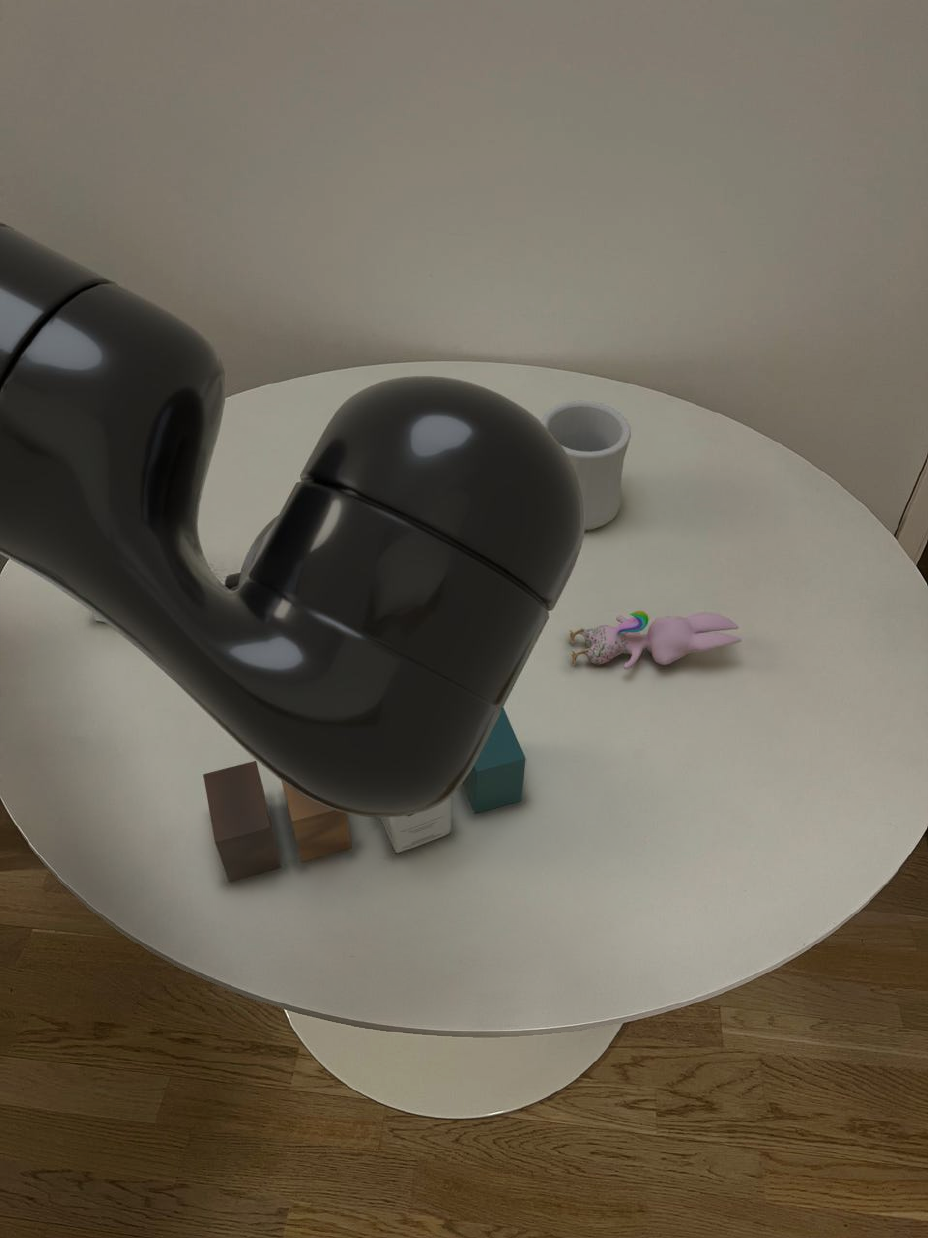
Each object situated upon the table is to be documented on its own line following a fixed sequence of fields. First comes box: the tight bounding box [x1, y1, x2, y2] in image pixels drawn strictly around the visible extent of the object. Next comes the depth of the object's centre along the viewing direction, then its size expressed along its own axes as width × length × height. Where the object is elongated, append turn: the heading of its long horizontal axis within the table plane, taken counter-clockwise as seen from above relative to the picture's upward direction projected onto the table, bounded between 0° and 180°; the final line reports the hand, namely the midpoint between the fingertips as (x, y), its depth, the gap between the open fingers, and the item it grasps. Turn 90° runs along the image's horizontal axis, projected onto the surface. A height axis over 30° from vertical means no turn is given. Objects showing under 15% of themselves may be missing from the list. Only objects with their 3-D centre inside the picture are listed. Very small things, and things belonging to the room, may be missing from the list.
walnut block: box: [202, 760, 282, 883], centre depth 76 cm, size 4×6×6 cm, turn 18°
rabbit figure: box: [569, 610, 743, 670], centre depth 89 cm, size 6×6×15 cm
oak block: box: [281, 780, 352, 863], centre depth 77 cm, size 4×6×6 cm, turn 18°
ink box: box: [379, 796, 452, 854], centre depth 76 cm, size 8×5×12 cm, turn 24°
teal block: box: [462, 706, 526, 814], centre depth 80 cm, size 4×6×6 cm, turn 18°
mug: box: [539, 400, 632, 531], centre depth 101 cm, size 12×9×10 cm
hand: (304, 591), depth 56 cm, fingers open, 8 cm apart
